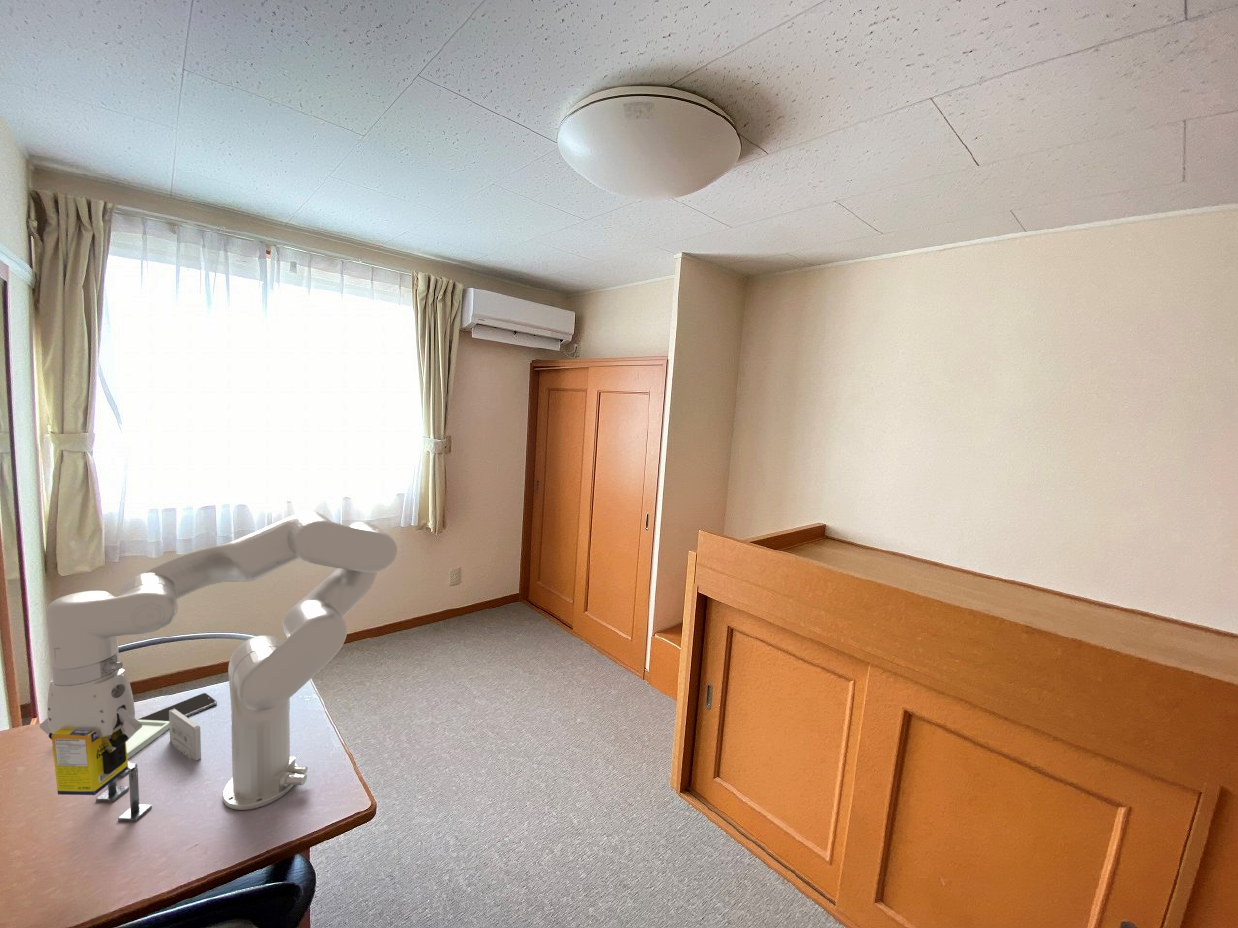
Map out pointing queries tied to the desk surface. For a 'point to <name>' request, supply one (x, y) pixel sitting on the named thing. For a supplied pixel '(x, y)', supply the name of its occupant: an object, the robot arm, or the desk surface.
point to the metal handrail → (135, 808)
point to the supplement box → (81, 762)
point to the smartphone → (184, 708)
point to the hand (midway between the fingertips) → (94, 766)
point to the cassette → (185, 734)
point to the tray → (145, 735)
